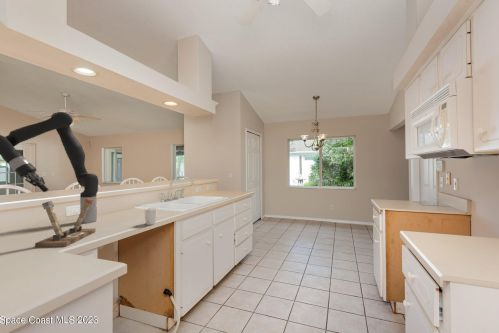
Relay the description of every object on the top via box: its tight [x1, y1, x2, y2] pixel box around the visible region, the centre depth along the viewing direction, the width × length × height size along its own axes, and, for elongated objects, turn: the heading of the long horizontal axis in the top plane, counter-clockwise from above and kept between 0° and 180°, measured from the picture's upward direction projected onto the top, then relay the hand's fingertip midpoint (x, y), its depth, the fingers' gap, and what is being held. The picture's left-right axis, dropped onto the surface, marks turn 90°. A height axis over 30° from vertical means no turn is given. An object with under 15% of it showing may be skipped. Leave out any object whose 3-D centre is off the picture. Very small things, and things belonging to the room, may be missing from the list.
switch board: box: [34, 225, 96, 248], centre depth 121 cm, size 24×14×4 cm, turn 6°
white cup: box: [144, 207, 158, 226], centre depth 153 cm, size 8×8×10 cm
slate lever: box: [41, 200, 64, 237], centre depth 115 cm, size 3×3×19 cm
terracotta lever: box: [73, 198, 93, 230], centre depth 127 cm, size 3×3×19 cm
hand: (46, 191), depth 127 cm, fingers closed
